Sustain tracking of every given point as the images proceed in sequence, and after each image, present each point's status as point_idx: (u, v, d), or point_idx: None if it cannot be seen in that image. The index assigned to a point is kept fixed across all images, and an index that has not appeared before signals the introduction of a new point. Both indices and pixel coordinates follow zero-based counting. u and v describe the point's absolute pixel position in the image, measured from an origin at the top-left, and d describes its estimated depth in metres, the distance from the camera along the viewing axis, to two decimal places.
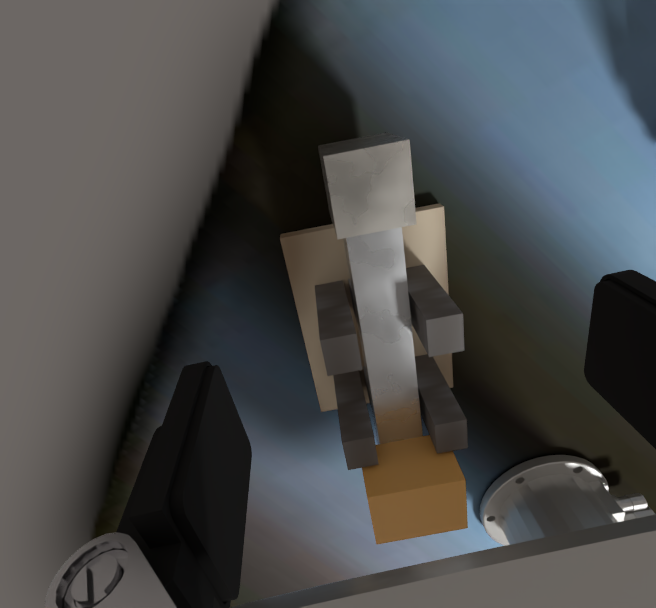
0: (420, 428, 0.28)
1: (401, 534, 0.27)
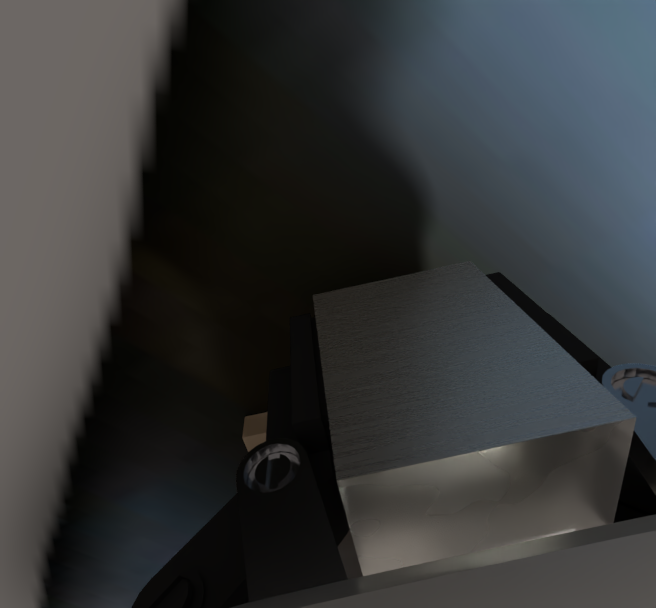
0: None
1: None
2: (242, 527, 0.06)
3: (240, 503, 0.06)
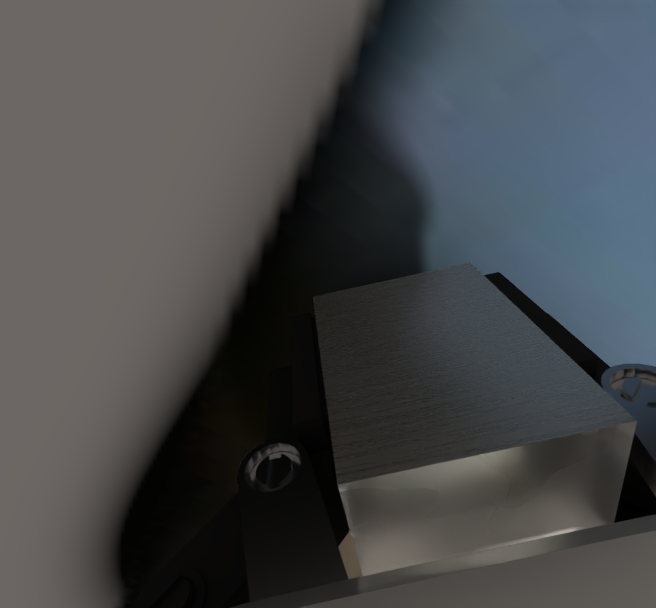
0: None
1: None
2: (243, 527, 0.06)
3: (241, 503, 0.06)
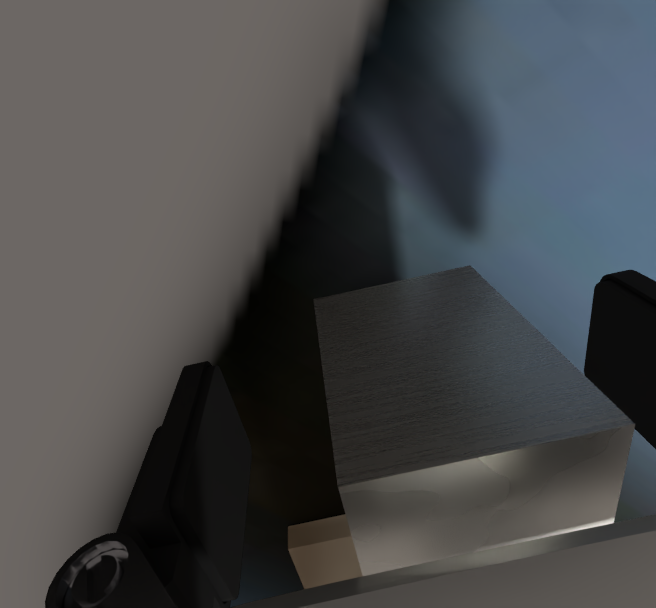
0: None
1: None
2: None
3: None
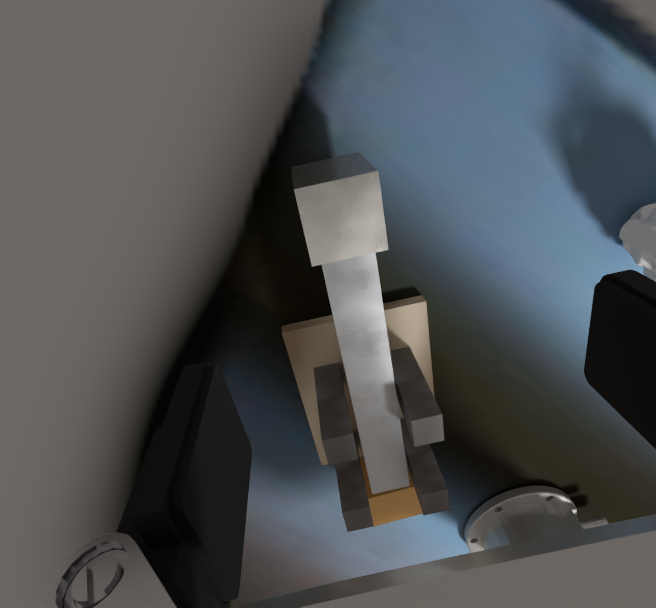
0: (400, 433, 0.29)
1: None
2: None
3: None
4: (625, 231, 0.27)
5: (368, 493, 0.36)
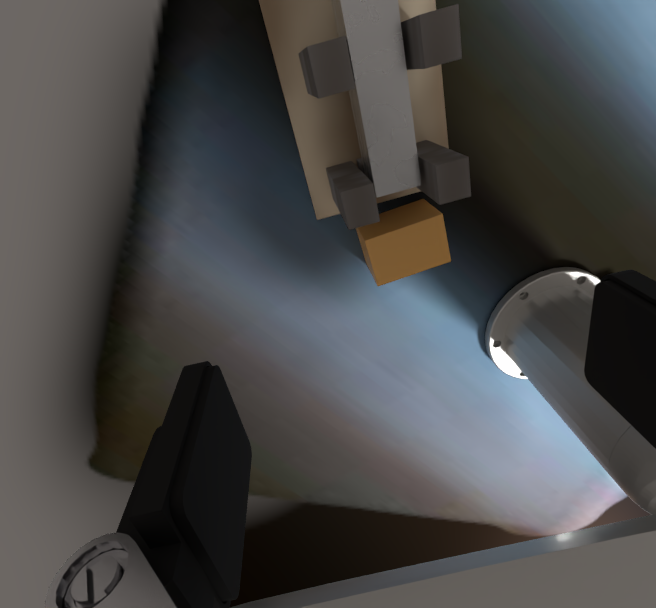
0: (406, 85, 0.24)
1: None
2: None
3: None
4: None
5: (373, 235, 0.31)
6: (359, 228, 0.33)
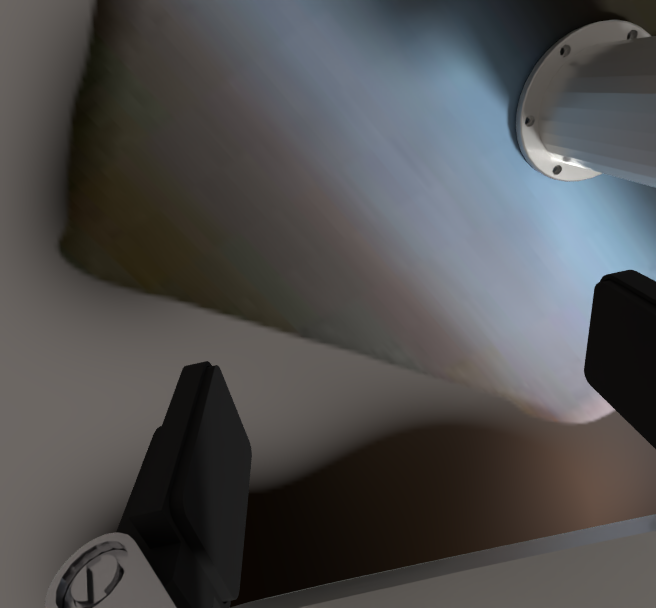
0: None
1: None
2: None
3: None
4: None
5: None
6: None
